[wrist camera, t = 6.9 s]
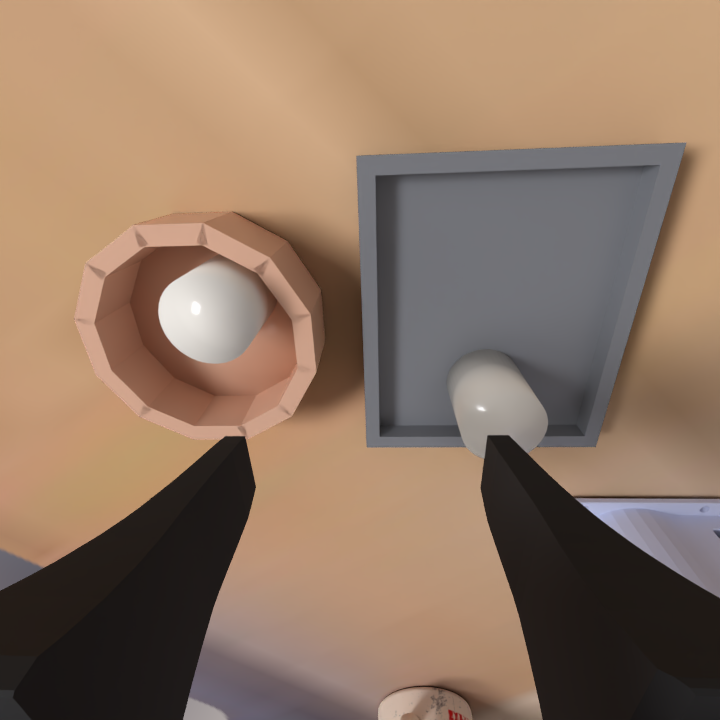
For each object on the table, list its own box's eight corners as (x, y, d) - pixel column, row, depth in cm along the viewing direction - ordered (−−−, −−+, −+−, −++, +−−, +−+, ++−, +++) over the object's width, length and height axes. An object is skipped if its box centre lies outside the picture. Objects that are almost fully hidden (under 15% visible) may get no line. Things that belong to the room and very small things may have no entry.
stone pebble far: (522, 348, 19) (555, 391, 16) (512, 409, 21) (540, 460, 18) (448, 349, 20) (464, 392, 16) (444, 410, 21) (457, 460, 18)
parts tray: (660, 143, 16) (686, 142, 14) (582, 429, 22) (595, 447, 21) (358, 155, 16) (356, 155, 15) (367, 430, 23) (366, 447, 21)
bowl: (314, 208, 17) (301, 219, 14) (330, 401, 22) (323, 439, 19) (94, 216, 18) (38, 227, 15) (154, 402, 22) (120, 439, 20)
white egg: (273, 250, 18) (246, 274, 14) (281, 325, 19) (259, 364, 16) (194, 250, 18) (147, 274, 14) (209, 325, 19) (170, 362, 16)
